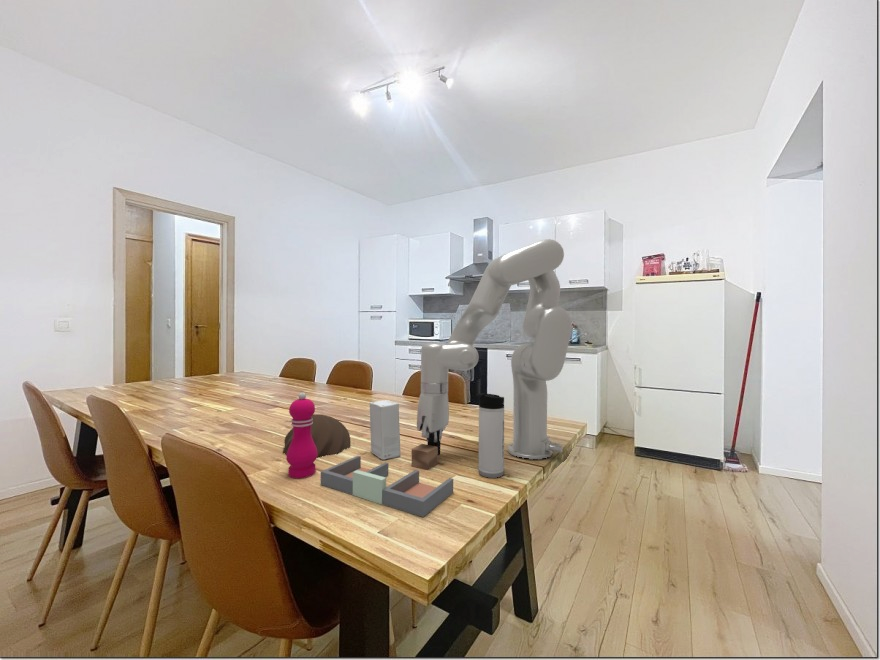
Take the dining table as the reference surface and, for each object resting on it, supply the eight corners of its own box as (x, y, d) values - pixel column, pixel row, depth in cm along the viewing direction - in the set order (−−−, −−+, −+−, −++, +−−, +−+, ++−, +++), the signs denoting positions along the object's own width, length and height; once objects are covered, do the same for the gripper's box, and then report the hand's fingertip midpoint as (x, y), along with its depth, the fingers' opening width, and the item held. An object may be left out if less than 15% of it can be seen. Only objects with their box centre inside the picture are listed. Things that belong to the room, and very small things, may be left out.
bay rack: (453, 492, 80) (453, 469, 80) (422, 517, 70) (423, 491, 70) (357, 467, 95) (357, 447, 94) (320, 484, 84) (320, 463, 84)
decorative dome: (266, 453, 105) (266, 418, 105) (315, 434, 123) (315, 405, 123) (320, 463, 97) (320, 426, 97) (363, 442, 116) (363, 410, 116)
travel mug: (472, 470, 93) (473, 391, 92) (495, 467, 95) (495, 390, 95) (485, 480, 87) (485, 396, 87) (508, 476, 89) (509, 394, 89)
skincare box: (400, 456, 102) (401, 403, 102) (380, 461, 99) (381, 406, 99) (387, 448, 109) (388, 398, 109) (368, 452, 106) (369, 400, 106)
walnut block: (437, 463, 97) (437, 446, 97) (427, 470, 93) (427, 452, 93) (422, 460, 100) (422, 443, 100) (411, 466, 95) (411, 448, 95)
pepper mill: (291, 468, 94) (291, 390, 94) (320, 467, 94) (320, 389, 94) (281, 479, 87) (282, 395, 86) (313, 478, 87) (313, 395, 87)
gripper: (436, 383, 109) (436, 445, 109) (407, 390, 96) (406, 460, 96) (459, 385, 105) (458, 449, 105) (431, 393, 92) (430, 466, 92)
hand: (433, 454), depth 101 cm, fingers closed
